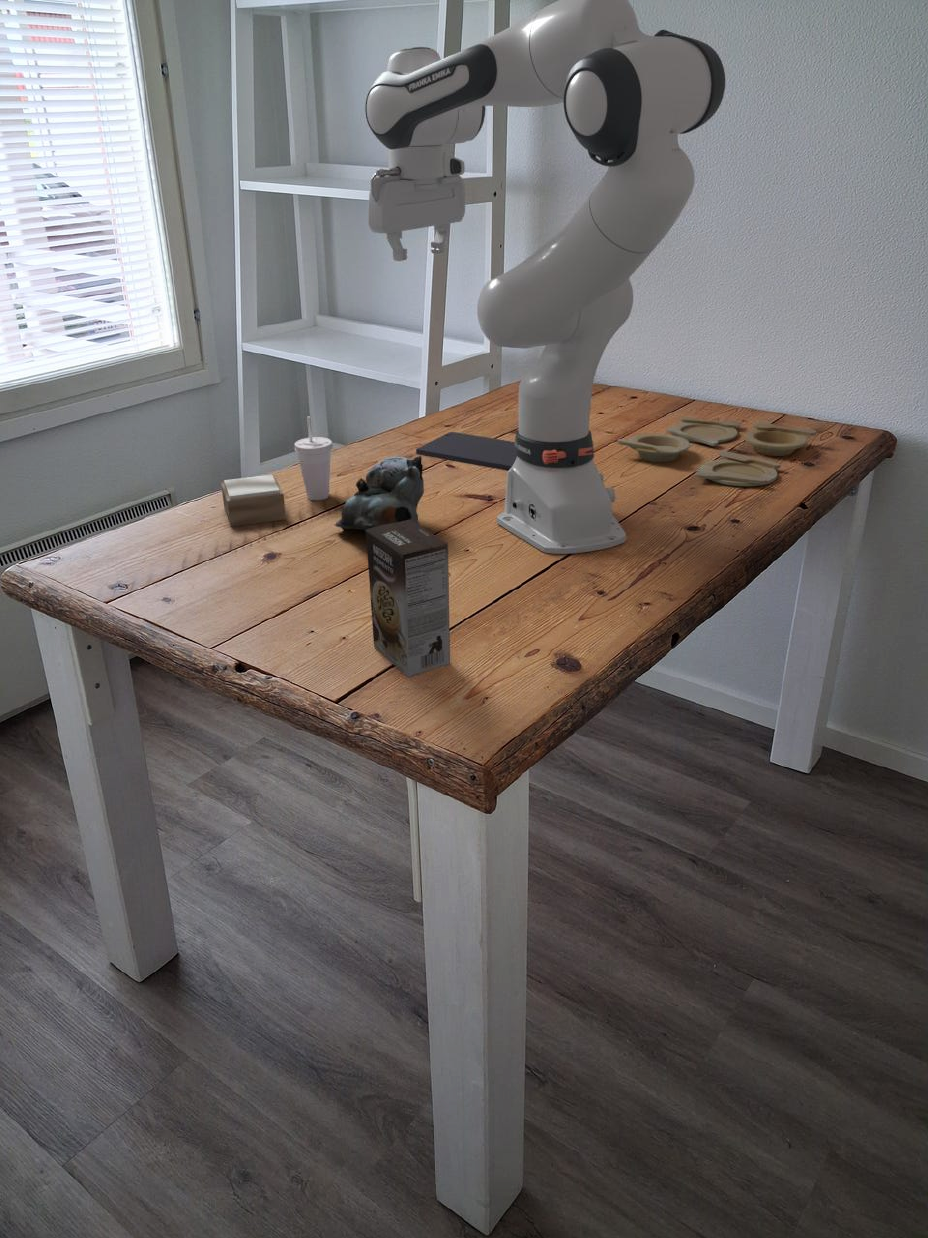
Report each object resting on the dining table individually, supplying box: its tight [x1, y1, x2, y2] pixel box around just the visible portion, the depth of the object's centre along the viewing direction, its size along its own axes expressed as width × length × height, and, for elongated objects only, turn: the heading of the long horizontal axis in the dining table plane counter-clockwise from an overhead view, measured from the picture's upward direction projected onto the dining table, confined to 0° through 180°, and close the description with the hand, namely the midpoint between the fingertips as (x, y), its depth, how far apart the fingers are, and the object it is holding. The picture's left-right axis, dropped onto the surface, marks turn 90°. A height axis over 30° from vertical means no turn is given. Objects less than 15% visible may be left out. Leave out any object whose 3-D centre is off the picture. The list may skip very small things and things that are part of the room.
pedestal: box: [220, 474, 287, 528], centre depth 166 cm, size 9×9×5 cm
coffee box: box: [365, 519, 451, 678], centre depth 120 cm, size 9×6×16 cm
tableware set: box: [617, 416, 817, 487], centre depth 189 cm, size 35×29×4 cm
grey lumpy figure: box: [333, 455, 425, 531], centre depth 157 cm, size 15×12×14 cm
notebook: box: [415, 431, 517, 472], centre depth 193 cm, size 13×2×21 cm
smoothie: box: [294, 416, 334, 501], centre depth 170 cm, size 6×6×14 cm
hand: (419, 256), depth 166 cm, fingers open, 8 cm apart
